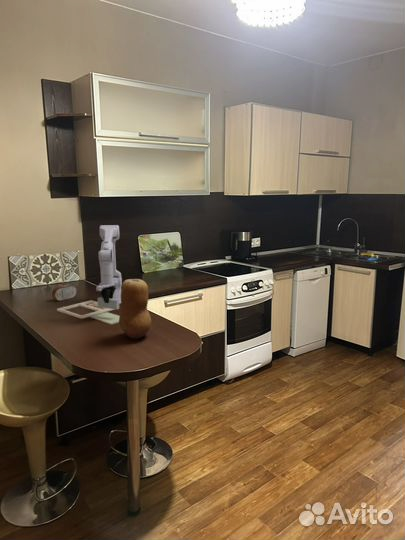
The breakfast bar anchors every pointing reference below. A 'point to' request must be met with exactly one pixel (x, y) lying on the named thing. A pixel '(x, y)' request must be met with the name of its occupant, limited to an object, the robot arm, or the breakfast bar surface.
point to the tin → (64, 292)
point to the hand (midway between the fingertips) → (108, 302)
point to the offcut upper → (95, 305)
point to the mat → (107, 318)
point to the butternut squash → (134, 308)
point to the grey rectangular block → (111, 305)
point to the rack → (85, 307)
